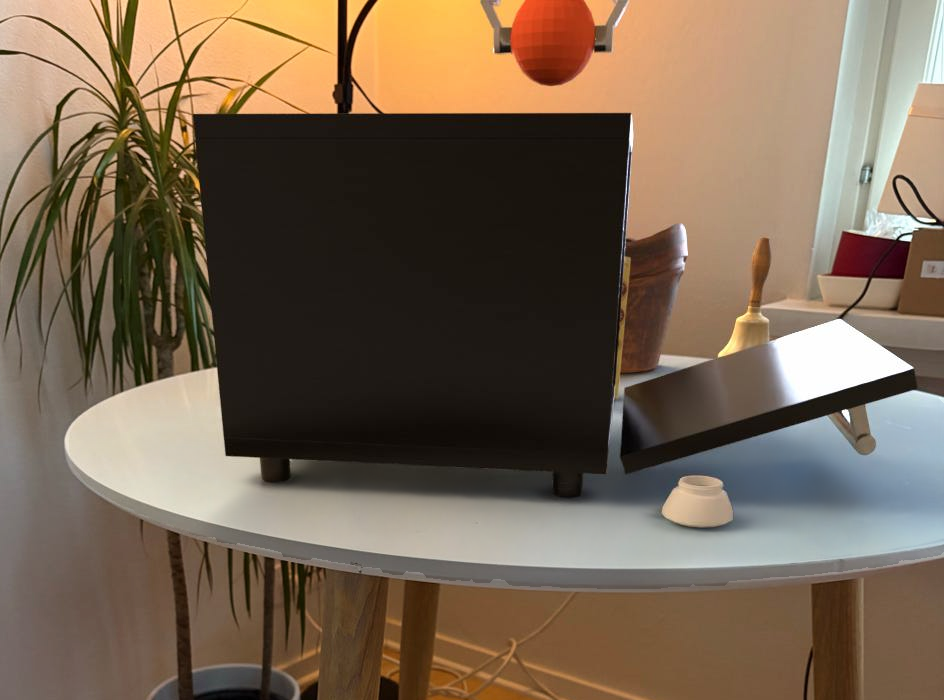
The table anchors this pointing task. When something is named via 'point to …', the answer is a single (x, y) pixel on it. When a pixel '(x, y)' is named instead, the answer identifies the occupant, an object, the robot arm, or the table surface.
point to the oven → (417, 287)
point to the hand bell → (753, 305)
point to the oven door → (762, 395)
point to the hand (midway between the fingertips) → (553, 53)
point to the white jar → (698, 503)
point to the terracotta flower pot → (651, 295)
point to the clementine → (552, 40)
